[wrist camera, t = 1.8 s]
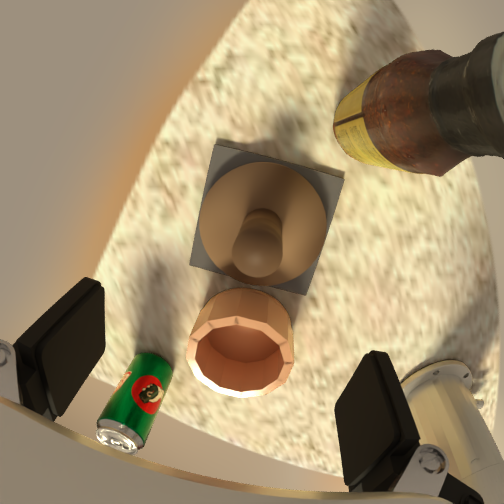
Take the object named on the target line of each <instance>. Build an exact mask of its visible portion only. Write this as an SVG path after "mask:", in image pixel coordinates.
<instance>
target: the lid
mask: <svg viewBox="0 0 504 504" xmlns="http://www.w3.org/2000/svg"><path fill="white" fill-rule="evenodd" d="M199 229H200V236H201V239H202V243H203V245H204V248H205V250H206V252H207V254H208V255H209V257H210V258H211V260H212V261H213V262H214V264H215V265H216V266H217V267H218V268H219V269H220V270H222V271H223V272H224V273H225V274H227V275H229V276H230V277H232V278H234V279H236V280H238V281H240V282H244V283H247V284H251V285H258V286H271V285H277V284H281V283H284V282H287V281H290V280H292V279H294V278H296V277H297V276H299V275H301V274H302V273H303V272H305V271H306V270H307V269H308V268H309V267H310V266H311V265H312V264H313V262H314V261H315V260H316V259H317V257H318V255H319V253H320V252H321V249H322V247H323V245H324V241H325V237H326V230H327V220H326V214H325V210H324V206H323V204H322V201H321V199H320V197H319V195H318V194H317V192H316V191H315V189H314V188H313V186H312V185H311V184H310V183H309V182H308V180H306V179H305V178H304V177H303V176H302V175H301V174H299V173H298V172H296V171H295V170H293V169H291V168H289V167H286V166H283V165H281V164H276V163H271V162H254V163H249V164H245V165H242V166H239V167H237V168H235V169H233V170H231V171H230V172H228V173H227V174H225V175H224V176H222V177H221V178H220V179H219V180H218V181H217V182H216V183H215V184H214V185H213V186H212V188H211V189H210V190H209V192H208V193H207V195H206V197H205V199H204V202H203V204H202V208H201V211H200V218H199Z"/></svg>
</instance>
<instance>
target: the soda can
mask: <svg viewBox="0 0 504 504" xmlns="http://www.w3.org/2000/svg"><path fill="white" fill-rule="evenodd" d="M172 377H173V373H172V369H171V367H170V366H169V364H168V363H167V361H166V360H165V359H163V358H162V357H160V356H159V355H156V354H154V353H140V354H138V355H136V356H135V357H134V359H133V360H132V362H131V364H130V365H129V367H128V369H127V370H126V372H125V374H124V375H123V377H122V379H121V380H120V382H119V384H118V386H117V387H116V389H115V391H114V392H113V394H112V396H111V398H110V400H109V401H108V403H107V405H106V406H105V408H104V410H103V411H102V414H101V415H100V417H99V419H98V420H97V430H96V435H97V437H98V439H99V440H100V441H101V442H102V443H103V444H104V445H107V446H109V447H112V448H114V449H117V450H119V451H122V452H125V453H128V454H130V455H135V454H136V453H137V452H138V450H140V449H142V448H143V447H144V445H145V443H146V440H147V438H148V435H149V433H150V430H151V428H152V425H153V423H154V421H155V418H156V416H157V413H158V411H159V408H160V406H161V404H162V401H163V399H164V396H165V394H166V392H167V389H168V387H169V384H170V382H171V380H172Z"/></svg>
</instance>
